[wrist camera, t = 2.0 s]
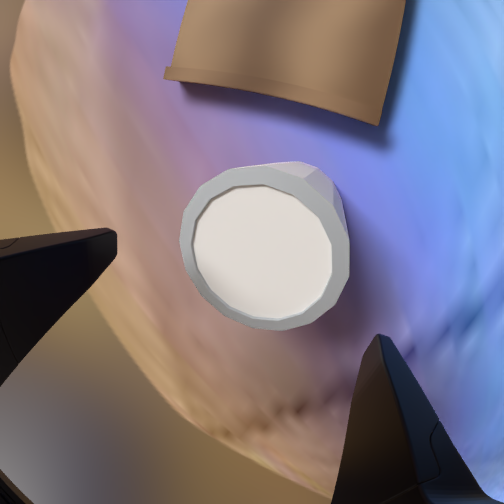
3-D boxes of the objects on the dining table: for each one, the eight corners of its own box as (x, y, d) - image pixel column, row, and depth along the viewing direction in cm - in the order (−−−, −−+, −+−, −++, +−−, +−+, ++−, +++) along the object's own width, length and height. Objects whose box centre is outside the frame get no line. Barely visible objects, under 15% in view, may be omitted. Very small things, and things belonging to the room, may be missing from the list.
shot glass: (376, 191, 15) (389, 235, 9) (314, 282, 19) (289, 357, 13) (269, 128, 16) (214, 131, 10) (222, 225, 19) (160, 275, 13)
